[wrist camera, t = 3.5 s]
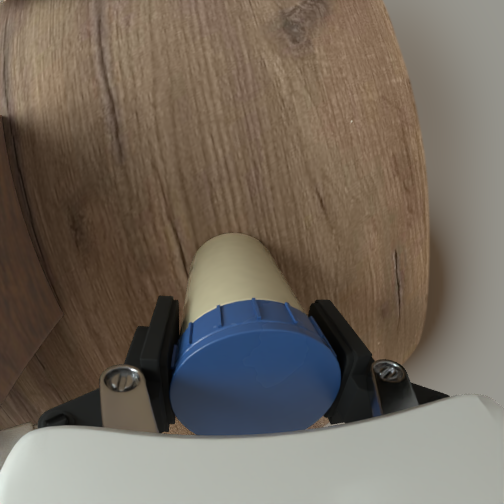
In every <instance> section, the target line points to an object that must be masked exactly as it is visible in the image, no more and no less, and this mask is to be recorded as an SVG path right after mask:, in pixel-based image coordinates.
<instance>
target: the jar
mask: <svg viewBox="0 0 504 504" xmlns="http://www.w3.org/2000/svg"><path fill="white" fill-rule="evenodd" d="M252 298H255V299H256V300H270V301H275V302H280V303H284V304H285V302H288V303H289V304H290V306H292V307H294V308H296V309H298V310H300V311H301V312H303V313H304V314H306V313H305V311H304V309H303V308H302V306H301V304H300V302H299V301H298V299H297V297H296V296H295V294H294V292H293V291H292V289H291V287H290V286H289V284H288V282H287V281H286V279H285V277H284V276H283V274H282V272H281V270H280V269H279V267H278V265H277V264H276V262H275V260H274V259H273V257H272V255H271V254H270V252H269V251H268V249H267V248H266V247H265V246H264V245H263V244H262V243H261V242H260V241H258V240H257V239H255V238H253V237H251V236H248V235H245V234H240V233H227V234H222V235H218V236H216V237H214V238H212V239H210V240H208V241H207V242H206V243H204V244H203V245H202V246H201V247H200V248H199V250H198V251H197V252H196V254H195V256H194V257H193V260H192V263H191V267H190V272H189V278H188V284H187V290H186V296H185V303H184V309H183V316H182V322H181V329H180V336H179V339H180V337H181V336H182V334H183V333H184V332H185V330H186V329H187V328H188V325H189V323H190V322H192V323H193V322H194V321H195V320H197V319H198V318H199V317H201V316H202V315H204V314H205V313H207V312H209V311H211V310H213V309H215V308H217V305H220V306H223V305H225V304H229V303H233V302H237V301H244V300H252ZM306 315H307V314H306Z"/></svg>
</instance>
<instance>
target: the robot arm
mask: <svg viewBox="0 0 504 504" xmlns="http://www.w3.org/2000/svg"><path fill="white" fill-rule="evenodd" d="M311 316H312V317H313V318H314V320H315V321H316V323H317V325H318V326H319V328H320V330H321V331H322V333H323V334H324V336H325V337H326V339H327V340H328V342H329V344H330V345H331V347H332V349H333V350H334V352H335V354H336V355H337V360H338V362H339V366H340V369H341V384H340V389H339V392H338V395H337V397H336V399H335V401H334V402H333V404H332V405H331V407H330V408H329V409H328V411H327V412H326V413H325V414H324V417H326V418H327V417H328V419H329V421H330V423H331V424H337V423H343V422H344V423H345V424H340V425H334V426H328V427H322V428H315V429H308V430H300V431H291V432H281V433H269V434H254V435H226V436H205V435H178V434H161V433H162V432H169V424H175V414H174V412H173V410H172V407H171V404H170V400H169V387H170V380H171V372H172V369H170V365H171V358H172V351H173V346H174V345H177V343H178V341H179V336H180V335H179V302H178V300H174V299H173V296H159V298H158V301H157V304H156V307H155V310H154V313H153V316H152V319H151V322H150V326H149V327H144V326H138V327H137V329H136V332H135V334H134V337H133V340H132V343H131V345H130V348H129V351H128V354H127V357H126V360H125V363H124V364H119V365H114V366H111V367H109V368H107V369H106V370H104V371H103V372H102V374H101V375H100V379H99V389H96V390H94V391H92V392H90V393H87V394H85V395H83V396H80V397H78V398H76V399H73V400H71V401H69V402H66V403H64V404H62V405H59V406H57V407H54V408H52V409H50V410H48V411H46V412H44V413H43V414H42V415H41V417H40V418H39V421H38V423H37V424H34V425H33V424H32V422H27V423H24V424H20V425H17V426H14V427H10V428H6V429H3V430H0V504H504V408H503V407H501V406H500V405H499V404H498V403H497V402H496V401H494V400H493V399H492V398H490V397H488V396H484V395H478V394H464V395H456V396H451V397H450V396H448V395H446V394H444V393H440V392H438V391H434V390H431V389H428V388H425V387H422V386H419V385H416V384H413V383H411V382H410V380H409V377H408V374H407V372H406V370H405V369H404V368H403V367H402V366H401V365H400V364H398V363H397V362H394V361H391V360H386V359H382V360H377V361H374V360H373V358H372V357H371V356H372V354H371V352H370V351H369V350H368V348H367V347H366V346H365V344H364V343H363V342H362V341H361V339H360V338H359V337H358V335H357V334H356V333H355V331H354V330H353V329H352V328H351V326H350V325H349V324H348V322H347V321H346V320H345V319H344V317H343V316H342V315H341V313H340V312H339V311H338V310H337V308H336V307H335V306H334V305H333V303H332V302H331V301H330V300H316V301H315V303H312V304H311V306H310V310H309V315H308V317H309V318H310V317H311Z"/></svg>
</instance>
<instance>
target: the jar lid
mask: <svg viewBox="0 0 504 504" xmlns="http://www.w3.org/2000/svg"><path fill="white" fill-rule="evenodd" d="M170 369H172V372H171V380H170V387H169V400H170V404H171V407H172V410H173V412H174V414H175V415H176V417H177V418H178V420H179V421H180V422H181V423H182V424H183V425H184V426H185V427H186V428H187V429H189V430H190V431H191V432H193V433H195V434H196V435H205V436H226V435H254V434H269V433H281V432H291V431H300V430H305V429H307V428H308V427H310V426H311V425H313V424H314V423H315V422H316V421H318V420H319V419H320V418H321V417H322V416H323V415H324V414H325V413H326V412H327V411H328V409H329V408H330V407H331V405H332V404H333V402H334V401H335V399H336V397H337V395H338V392H339V389H340V384H341V369H340V366H339V362H338V360H337V355H336V354H335V352H334V350H333V349H332V347H331V345H330V344H329V342H328V340H327V339H326V337H325V336H324V334H323V333H322V331H321V330H320V328H319V326H318V325H317V323H316V321H315V320H314V318H313V317H312V316H311V317H310V318H309V317H308V316H307V315H306V314H304V313H303V312H301V311H300V310H298V309H296V308H294V307H292V306H290V304H289V303H288V302H285V304H284V303H280V302H275V301H270V300H256V299H255V298H252V300H244V301H237V302H233V303H229V304H225V305H223V306H220V305H217V308H215V309H213V310H211V311H209V312H207V313H205V314H204V315H202V316H201V317H199V318H198V319H197V320H195V321H194V322H193V323H192V322H190V323H189V325H188V328H187V329H186V330H185V332H184V333H183V334H182V336H181V337H180V339H179V341H178V343H177V345H174V346H173V351H172V358H171V365H170Z"/></svg>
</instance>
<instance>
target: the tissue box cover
mask: <svg viewBox="0 0 504 504" xmlns="http://www.w3.org/2000/svg"><path fill="white" fill-rule="evenodd" d="M63 315H64V314H63V313H62V311H61V309H60V307H59V305H58V303H57V300H56V298H55V296H54V294H53V292H52V290H51V288H50V286H49V283H48V281H47V279H46V277H45V274H44V272H43V269H42V267H41V265H40V262H39V260H38V257H37V255H36V252H35V249H34V247H33V244H32V241H31V239H30V236H29V233H28V230H27V227H26V224H25V221H24V218H23V214H22V211H21V208H20V204H19V201H18V197H17V194H16V190H15V186H14V182H13V178H12V173H11V169H10V164H9V159H8V154H7V149H6V143H5V137H4V130H3V122H2V115H0V407H1V405H2V403H3V402H4V400H5V398H6V397H7V395H8V393H9V392H10V390H11V389H12V387H13V385H14V384H15V382H16V381H17V379H18V378H19V376H20V375H21V373H22V372H23V370H24V369H25V367H26V366H27V364H28V363H29V361H30V360H31V358H32V357H33V355H34V354H35V353H36V351H37V350H38V348H39V347H40V346H41V344H42V343H43V341H44V340H45V339H46V337H47V336H48V335H49V333H50V332H51V331H52V329H53V328H54V327H55V325H56V324H57V323H58V321H59V320H60V319H61V318H62V316H63Z"/></svg>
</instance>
